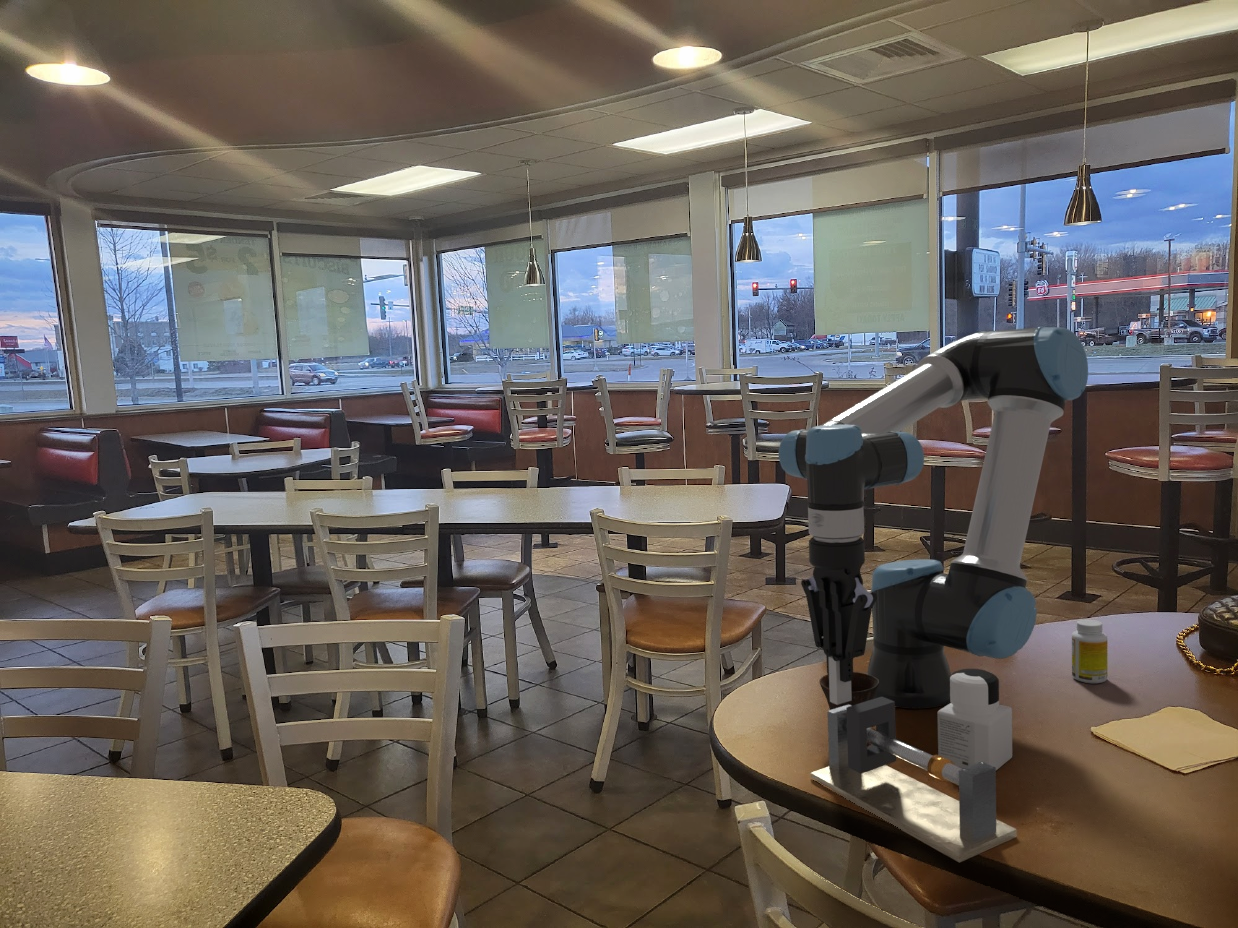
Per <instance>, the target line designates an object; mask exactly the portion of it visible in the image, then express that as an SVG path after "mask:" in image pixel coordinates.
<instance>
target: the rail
mask: <svg viewBox="0 0 1238 928" xmlns="http://www.w3.org/2000/svg"><path fill="white" fill-rule="evenodd" d="M849 706H851V705H849V704H848V705H845V706H842V707H839V708H835V709H832V710H830V709H829V710H827V734H828V735H827V736H828V737H827V738H828V742H827V743H828V766H826V767H823V768H821V769H818V770H814V771H812V772H810V778H811V777H812V778H813V779H815V780H817V781H818V782H820V783H821V784H823V785H825V786H827V787H829V788H831V789H832V790H833V791H835V792H837V793H838V794H840V795H842V796H843V797H844V798H843V797H842V798H843V799H845V798H846V799H845V800H847V801H849V800H850V801H851V802H850V801H849V802H850V803H852V802H853V803H852V804H854V803H855V804H854V805H855V806H857V807H859V806H860V807H859V808H861V807H862V808H861V809H863V808H864V809H863V810H864V811H866V810H867V811H866V812H868V811H869V813H870V812H871V813H870V814H872V813H873V814H872V815H874V814H875V815H876V816H875V815H874V816H875V817H877V816H878V817H877V818H879V817H880V818H879V819H881V818H882V819H884V820H885V822H886V821H887V822H886V823H888V822H889V823H888V824H890V823H891V824H893V825H894V827H895V826H896V827H895V828H897V827H898V828H897V829H899V830H900V829H901V830H900V831H902V832H904V833H905V834H908V835H909V836H911V837H913V838H915V839H917V840H918V841H921V842H922V843H924V844H926V845H927V846H929V847H931V848H933V849H934V850H936V851H938V852H940V853H942V854H943V855H945V856H947V857H949V858H951V860H954V861H955V862H958V863H962V862H964V861H966V860H969V859H970V858H973V857H975V856H978V855H980V854H982V853H984V852H986V851H988V850H990V849H992V848H996V847H998V846H999V845H1002V844H1004V843H1006V842H1008V841H1011V840H1013V839H1015V838H1017V836H1018V835H1017V833H1018V831H1017V828H1015V827H1013V826H1011V825H1008V824H1007V823H1005V822H1003V821H1001V820H999V819H997V775H996V774H997V772H996V771H997V770H996V767H993V766H991V765H989V764H986V763H984V762H979V763H977V764H974V765H971V766H969V767H966V768H960V767H957V766H955V765H954V763H953V762H952V761H951V760H949V759H946V758H944V757H942V756H940V755H938V754H933V755H932V754H930V753H928V752H926V751H924V750H921V749H919V748H917V747H915V746H912V745H910V744H908V743H906V742H904V741H901V740H899V739H897V738H896V739H895V738H892V737H890V736H888V735H886V734H884V733H881V732H879V731H877V730H876V728H875V729H874V728H873V727H870V728H867V744H870V745H874V746H876V747H878V748H880V749H882V750H884V751H887V752H889V753H891V754H893V755H895V756H896V758H899V759H902V760H904V761H905V762H908V763H910V764H912V765H914V766H917V767H919V768H921V769H923V770H925V771H927V772H928V774H929V775H930V776H931V777H933V778H935V779H938V780H940V781H942V782H945V783H946V782H951V783H953V784H955V785H957V786H958V789H959V790H958V794H959V795H958V797H959V798H958V799H959V800H958V799H955V798H954V797H952V796H949V795H947V794H946V793H943V792H941V791H940V790H937V789H935V788H934V787H931V786H929V785H927V784H926V783H923V782H921V781H919V780H917V779H915V778H913V777H911V776H909V775H906V774H904V773H903V772H901V771H898V770H896V769H894V768H892V767H890V766H888V765H884V766H881V767H879V768H876V769H873V770H870V771H867V772H865V773H862V774H860V773H858V772H856V771H854V770H852V769H851V768H849V767H848V741H847V709H846V707H849ZM833 791H832V792H833ZM838 794H837V795H838ZM840 795H839V796H840ZM882 819H881V820H882ZM884 820H883V821H884ZM891 824H890V825H891ZM893 825H892V826H893Z"/></svg>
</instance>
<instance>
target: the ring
mask: <svg viewBox="0 0 1238 928" xmlns="http://www.w3.org/2000/svg"><path fill="white" fill-rule="evenodd" d="M846 709H847V741H848V767H849V768H851V769H852V770H854V771H856V772H858V773H860V774H862V773H865V772H867V771H870V770H873V769H876V768H879V767H881V766H884V765H886V766H888V765H889V764H892V763H895V762H897V756H895V755H893V754H891V753H889V752H887V751H884V750H882V749H880V748H878V747H876V746H874V745H872V744H870V745H868V743H867V728H873V727H875V730H877V731H879V732H881V733H884V734H886V735H888V736H890V737H892V738H895V739H897V738H896V737H897V735H896V731H897V730H896V707H895V702H894V701H892V700H889V699H887V698H884V697H879V698H875V699H872V700H869V701H866V702H862V703H859V704H856V705H853V706H849V707H846Z"/></svg>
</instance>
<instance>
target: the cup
mask: <svg viewBox="0 0 1238 928" xmlns="http://www.w3.org/2000/svg"><path fill="white" fill-rule="evenodd" d="M818 683H819V684H820V685H819V686H820V687H821V691H822V692H823V694H824V697H825V699H826V701H827V705H828V709H829V710H832V709H835V708H839V707H842V706H845V705H848V704H849V705H851V706H853V705H856V704H859V703H862V702H866V701H869V700H872V699H874V696H875V693H876V691H877V688H878V685H879V681H878V679H877V678H875V677H873V676H871V675H868V674H866V673H863V672H858V671H853V680H851V696H852V700H851V701H848V702H845V703H841V704H838V705H836V704H834V703H832V702H830V690H829V676H828V674H825V675H823V676H822V677H821V678H819V682H818Z"/></svg>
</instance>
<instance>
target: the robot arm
mask: <svg viewBox="0 0 1238 928" xmlns="http://www.w3.org/2000/svg"><path fill="white" fill-rule="evenodd" d="M1086 353H1087V352H1086V350H1085V349H1084V346H1083V343H1082V340H1080V338H1079V336H1077V335H1076V334H1075V333H1074V332H1073V331H1072V330H1070V329H1068V328H1065V327H1060V326H1059V327H1057V326H1056V327H1055V326H1052V327H1050V326H1048V327H1047V326H1044V325H1041V326H1038V327H1031V328H1030V327H1029V328H1028V327H1027V328H1016V329H1014V328H1013V329H1000V330H982V331H978V332H975V333H972V334H969V335H966V336H963V337H960V338H958V339H957V340H954V341H952V342H950V343H948V344H946V345H945V346H943V347H941V348H938V349H937V350H935V351H932V352H931V353H929V354H928V355H926V356H925V357H922V359H920V360H919V361H918V362H917V363H916V365H915V368H914V369H913V370H912V371H911V372H909V373H907V374H905V375H903V376H902V377H901V378H899V379H897V380H895V381H894V382H892V383H890V384H889V385H887V386H885V387H883V388H882V389H880V390H878V391H876V392H875V393H873V394H872V395H870V396H867V397H866V398H864V399H863V400H861V401H859V402H858V403H856V404H854V405H853V406H851V407H850V408H848V409H846V410H844V411H843V412H841V413H839V414H837V415H835V416H834V417H833V418H831V419H829V420H827V421H825V422H824V423H822V424H821V425H816V426H812V427H811V428H809V429H805V428H804V429H799V430H791V431H789V432H787V433H786V434H785V436H783V438H782V439H781V441H780V443H779V447H778V459H779V464H780V466H781V469H782V470H783V471H784V472H785V473H786V474H787V475H789V476H792V477H796V478H802V479H804V480H806V488H807V489H806V490H807V491H806V492H807V516H808V517H807V519H808V521H807V523H808V534H809V535H810V536H811V538H810V539H808V557H809V558H808V560H809V561H808V562H809V563H810V565H811V566H812V567H813V571H812V575H811V576H810V577H809V578H805V579H801V581H800V585H801V587H802V589H803V592H804V594H805V597H806V603H807V607H808V614H809V618H810V622H811V623H810V624H811V629H812V635H813V639H814V644H815V647H816V648H817V649H819V648H820V649H822V650H823V653H824V655H826V673H827V674H828V676H829V690H830V702H832V703H834V704H836V705H838V704H841V703H845V702H848V701H851V700H852V696H851V680H853V672H854V658H858V657H862V656H864V655H865V653H866V645H867V640H868V635H869V629H870V628H869V627H870V622H871V618H872V637H873V639H872V640H873V649H872V653H871V656H870V658H869V663H868V666H867V671H866V673H865V674H868V675H871V676H873V677H875V678H877V679H878V681H879V685H878V688H877V691H876V693H875V696H874V699H875V698H879V697H884V698H887V699H889V700H892V701H894V702H895V708H901V709H931V708H937V707H938V708H939V707H942V706H946V705H948V704H950V703H951V701H950V676H951V675H952V672H951V669H950V666H949V662H948V658H947V657H946V653H945V647H948V648H950V649H954V650H958V651H962V652H966V653H970V654H972V655H974V656H977V657H987V658H992V659H996V660H997V659H999V660H1000V659H1001V660H1002V659H1007V658H1011V657H1012V656H1014V655H1015V654H1017V653H1018V651H1019V650H1022V649H1023V647H1024V646H1025V644H1027V642H1028V641H1029V639H1030V638H1031V636H1032V633H1033V631H1034V628H1035V625H1036V622H1037V614H1038V610H1037V607H1036V604H1037V601H1036V598H1035V596H1034V595H1033V594H1032V592H1031V591H1029V590H1028V589H1027V588H1026V587H1027V584H1028V583H1027V582H1028V578H1027V577H1026V575H1025V573H1024V572H1023V570H1022V568H1021V562H1022V556H1023V552H1024V548H1025V544H1026V543H1025V542H1026V540H1027V539H1026V538H1027V534H1028V529H1029V524H1030V519H1031V515H1032V511H1033V506H1034V501H1035V497H1036V492H1037V488H1038V483H1039V480H1040V473H1041V469H1042V465H1043V460H1044V456H1045V451H1046V446H1047V442H1048V437H1049V433H1050V428H1051V424H1052V423H1053V422H1055V420H1058V419H1059V418H1061V417H1062V416H1064V411H1065V408H1066V403H1067V401H1073V400H1076V399H1078V398H1079V397H1081V396H1082V394H1083V393H1084V391H1085V390H1086V387H1087V383H1088V380H1089V379H1088V377H1089V363H1088V358H1087V354H1086ZM977 399H978V400H980V399H981V400H983V399H987V405H988V407H989V408H990V409H991V410H992V412H993V414H994V415H993V420H992V424H991V428H990V433H989V437H988V442H987V447H986V450H985V455H984V459H983V464H982V467H981V468H982V469H981V472H980V477H979V481H978V482H979V483H978V486H977V491H976V495H975V500H974V505H973V508H972V512H971V516H970V517H971V518H970V521H969V525H968V531H967V535H966V538H965V539H966V540H965V543H964V544H965V545H964V548H963V553H962V554H961V555H959V556H957V557H956V558H955V559H952V560H950V565H949V569H948V573H944V570H945V568H944V567H943V563H942V562H941V561H940V560H937V559H926V558H925V559H924V558H923V559H919V558H918V559H905V560H897V561H892V562H891V561H890V562H888V563H887V562H886V563H884V564H883V563H882V564H880V565H878V566H877V567H876V568H875V569H874V570H873V571H872V575H871V576H872V577H871V588H870V592H869V591H868V590H867V589H866V588H865V587H864V585H863V584H864V580H863V577H862V573H861V568H862V567H863V565H864V564H865V561H866V557H865V552H866V551H865V540H864V539H863V537H862V536H863V535H864V534H865V519H864V516H865V515H864V514H865V513H864V491H865V490H870V489H875V488H882V487H888V486H899V485H902V484H904V483H906V482H910V481H913V480H915V478H917V477H918V476H919V475H920V473H921V472H922V469H923V467H924V463H925V452H924V448H923V446H922V444H921V441H919V439H918V438H917V437H915V436H914V435H913V434H911V433H909V432H908V431H907V432H906V431H903V430H905V429H907V428H908V427H910V426H911V425H913V424H915V423H917V421H919V420H921V419H923V418H924V417H926V416H927V415H929V414H930V413H932V412H934V411H936V410H937V409H939V408H944V409H945V408H950V407H952V406H955V405H956V404H958V403H960V402H964V401H968V400H977ZM871 616H872V617H871ZM827 674H826V675H827Z"/></svg>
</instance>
